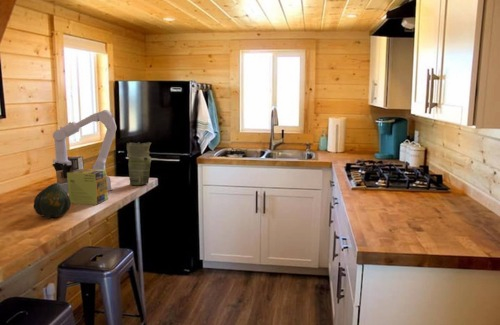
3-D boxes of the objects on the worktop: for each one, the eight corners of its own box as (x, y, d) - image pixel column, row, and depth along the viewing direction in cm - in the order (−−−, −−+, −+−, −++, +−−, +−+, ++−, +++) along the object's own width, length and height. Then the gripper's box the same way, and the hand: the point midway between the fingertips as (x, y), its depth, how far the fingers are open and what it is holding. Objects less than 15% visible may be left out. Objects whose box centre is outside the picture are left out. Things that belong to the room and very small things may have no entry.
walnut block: (64, 181, 224) (63, 169, 223) (69, 182, 222) (68, 170, 220) (57, 182, 221) (56, 171, 220) (61, 183, 218) (60, 171, 217)
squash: (25, 210, 170) (49, 182, 172) (28, 203, 183) (51, 176, 186) (55, 229, 175) (78, 201, 178) (56, 220, 189) (78, 194, 191)
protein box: (97, 205, 198) (95, 173, 195) (68, 203, 201) (66, 172, 198) (108, 199, 208) (106, 169, 205) (81, 197, 211) (78, 168, 208)
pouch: (126, 184, 241) (123, 141, 236) (143, 180, 250) (141, 139, 245) (137, 187, 234) (135, 143, 229) (154, 183, 243) (152, 141, 238)
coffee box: (85, 183, 243) (83, 156, 240) (80, 185, 237) (78, 158, 234) (71, 183, 244) (68, 156, 241) (65, 185, 238) (62, 158, 235)
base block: (73, 192, 223) (73, 182, 222) (61, 194, 217) (60, 184, 216) (67, 190, 227) (66, 180, 226) (55, 192, 222) (54, 182, 221)
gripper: (46, 151, 219) (48, 176, 222) (61, 154, 211) (63, 180, 213) (59, 150, 225) (61, 174, 227) (74, 152, 217) (76, 177, 219)
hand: (63, 177), depth 221 cm, fingers open, 6 cm apart
